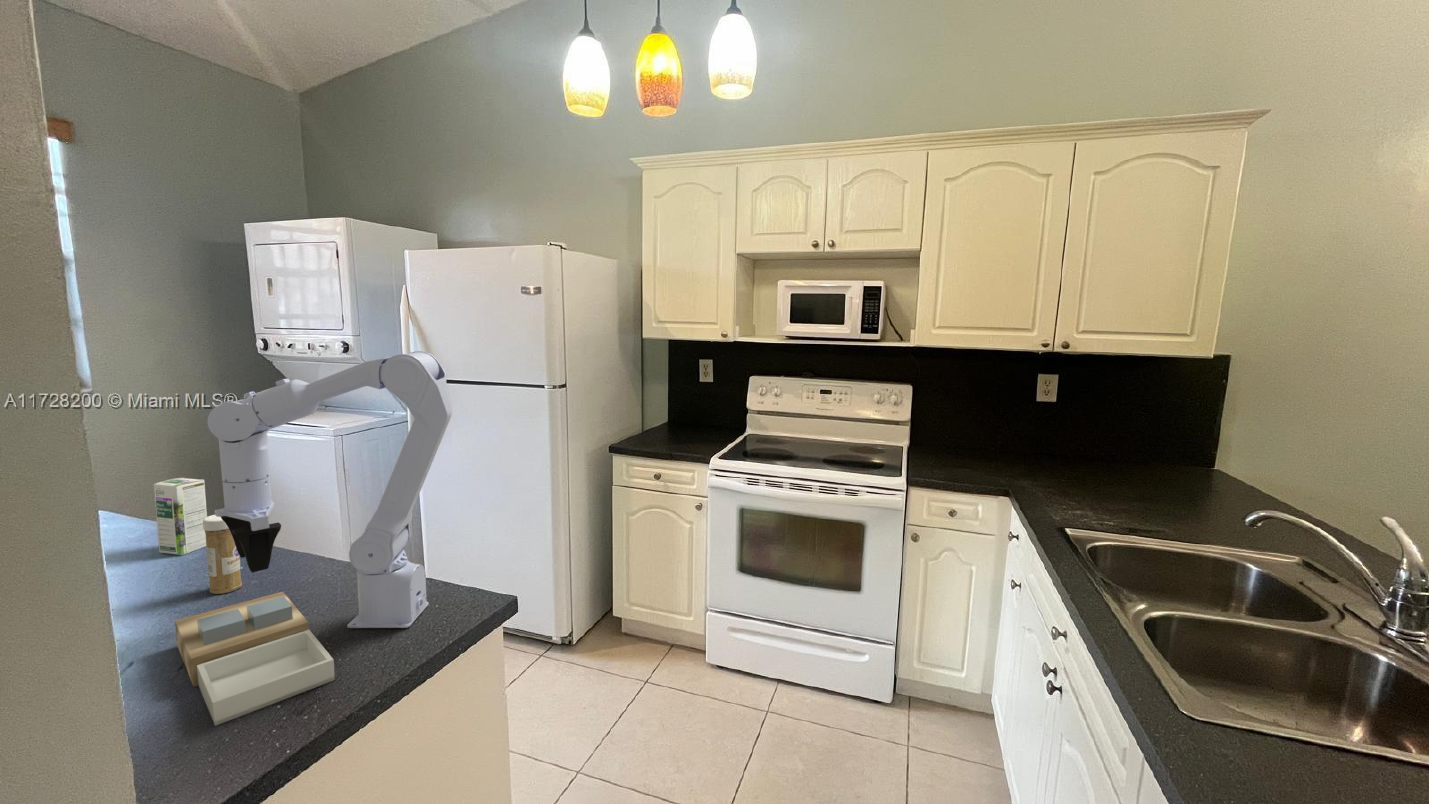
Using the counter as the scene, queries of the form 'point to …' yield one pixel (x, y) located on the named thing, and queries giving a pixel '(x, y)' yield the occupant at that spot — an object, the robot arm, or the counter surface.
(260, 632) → the maple bench
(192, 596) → the counter surface
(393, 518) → the robot arm
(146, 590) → the counter surface
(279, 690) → the tray
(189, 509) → the syrup box
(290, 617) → the slate tile
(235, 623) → the slate tile
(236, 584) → the sprinkles bottle
